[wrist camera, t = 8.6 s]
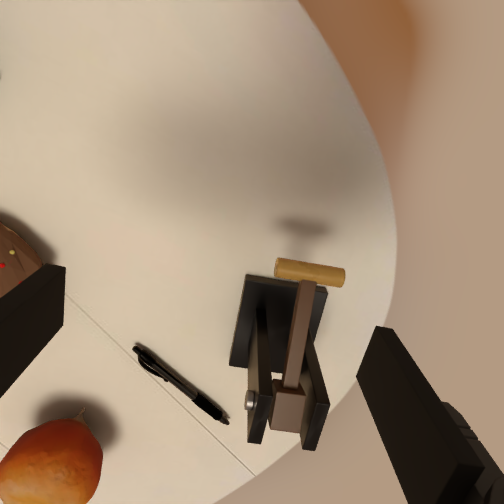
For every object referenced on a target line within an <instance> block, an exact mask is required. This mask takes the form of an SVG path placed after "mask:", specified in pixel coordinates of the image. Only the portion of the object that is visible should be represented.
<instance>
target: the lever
mask: <svg viewBox="0 0 504 504" xmlns="http://www.w3.org/2000/svg"><path fill="white" fill-rule="evenodd" d="M274 276H275V277H278V278H284V279H291V280H297V281H299V284H298V290H297V295H296V301H295V307H294V312H293V318H292V324H291V329H290V335H289V341H288V346H287V352H286V358H285V363H284V369H283V375H282V380H279V379H273V380H272V388H273V400H272V404H271V407H270V411H269V415H268V422H269V426H270V429H271V430H278V431H286V432H293V433H300V430H301V424H302V419H303V413H304V408H305V402H306V397H307V396H306V394H305V392H304V390H303V388H302V386H301V383H300V382H299V378H300V373H301V367H302V361H303V356H304V350H305V345H306V339H307V333H308V328H309V322H310V317H311V311H312V306H313V300H314V294H315V289H316V284H321V285H327V286H333V287H339V288H340V287H342V286H343V284H344V281H345V270H344V269H343V268H338V267H332V266H326V265H320V264H314V263H308V262H302V261H296V260H290V259H285V258H277V260H276V263H275V269H274Z"/></svg>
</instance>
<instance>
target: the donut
mask: <svg viewBox="0 0 504 504" xmlns="http://www.w3.org/2000/svg"><path fill="white" fill-rule="evenodd" d="M41 267H42V261H41V259H40V258H39V256H38V255H37V253H36V252H35V251H34V250H33V249H32V248H31V247H30V246H29V245H28V244H27V243H26V242H25V241H24V240H23V239H22V238H21V237H19V236H18V235H17V234H16V233H15V232H14V231H12V230H11V229H9V228H7V227H6V226H4V225H3V224H2V223H1V222H0V298H1V297H2V296H4V295H5V294H6V293H8V292H9V291H10V290H12V289H13V288H14V287H16V286H17V285H18V284H20V283H21V282H22V281H24V280H25V279H26V278H27V277H29V276H30V275H31V274H33V273H34V272H35V271H37V270H38V269H39V268H41Z"/></svg>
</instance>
